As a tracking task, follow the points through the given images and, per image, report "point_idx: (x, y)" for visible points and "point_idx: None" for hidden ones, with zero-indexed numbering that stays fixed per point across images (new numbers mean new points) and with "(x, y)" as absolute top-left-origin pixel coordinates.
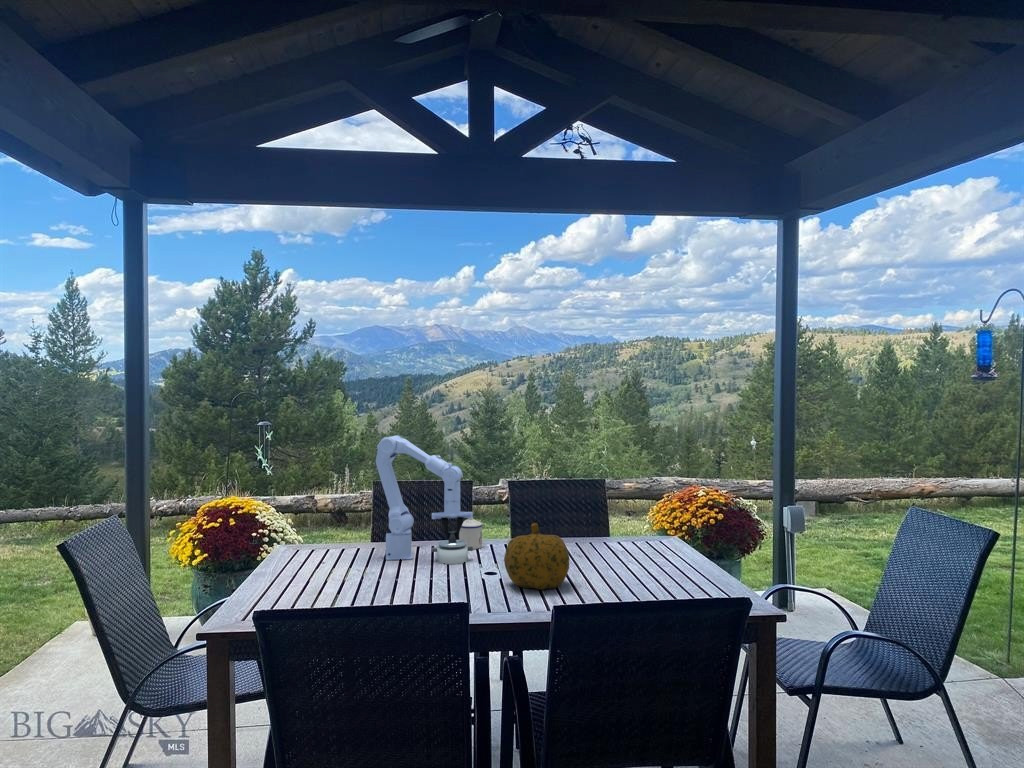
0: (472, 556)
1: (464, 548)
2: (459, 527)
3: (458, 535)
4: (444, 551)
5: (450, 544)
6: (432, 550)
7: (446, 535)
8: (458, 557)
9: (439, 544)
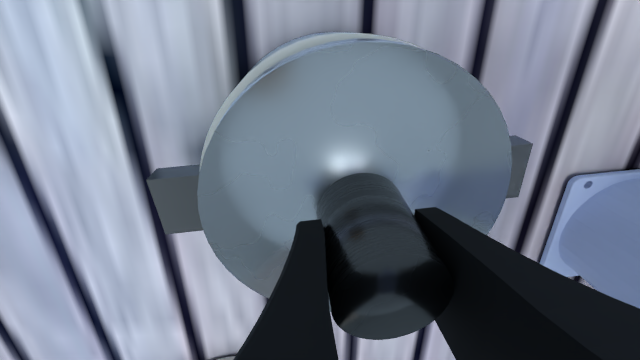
0: (205, 240)
1: None
2: (270, 350)
3: (293, 245)
4: None
5: (400, 43)
6: (519, 140)
7: (471, 229)
8: (285, 45)
9: (503, 140)
